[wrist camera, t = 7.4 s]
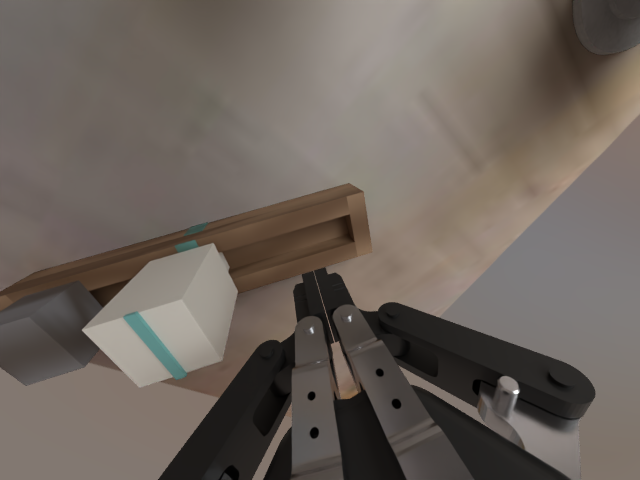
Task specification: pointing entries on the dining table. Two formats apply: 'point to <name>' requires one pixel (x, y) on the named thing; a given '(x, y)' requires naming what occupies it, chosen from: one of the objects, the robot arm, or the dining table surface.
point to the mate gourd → (607, 24)
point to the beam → (125, 263)
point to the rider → (169, 317)
